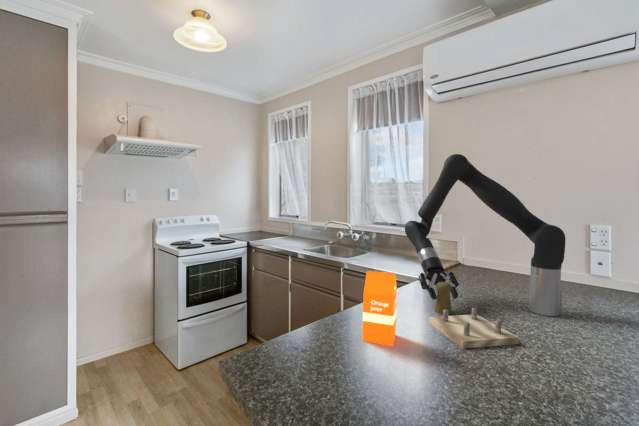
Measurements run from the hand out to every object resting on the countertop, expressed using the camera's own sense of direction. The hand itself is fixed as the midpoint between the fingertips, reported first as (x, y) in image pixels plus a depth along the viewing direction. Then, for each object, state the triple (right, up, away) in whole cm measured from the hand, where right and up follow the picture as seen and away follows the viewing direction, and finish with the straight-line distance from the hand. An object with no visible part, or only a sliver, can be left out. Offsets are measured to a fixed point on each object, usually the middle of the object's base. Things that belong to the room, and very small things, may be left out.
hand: (445, 298), depth 113 cm
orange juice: (-29, -6, -21) cm, 36 cm away
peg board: (+1, -6, -16) cm, 18 cm away
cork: (0, -6, +2) cm, 6 cm away
